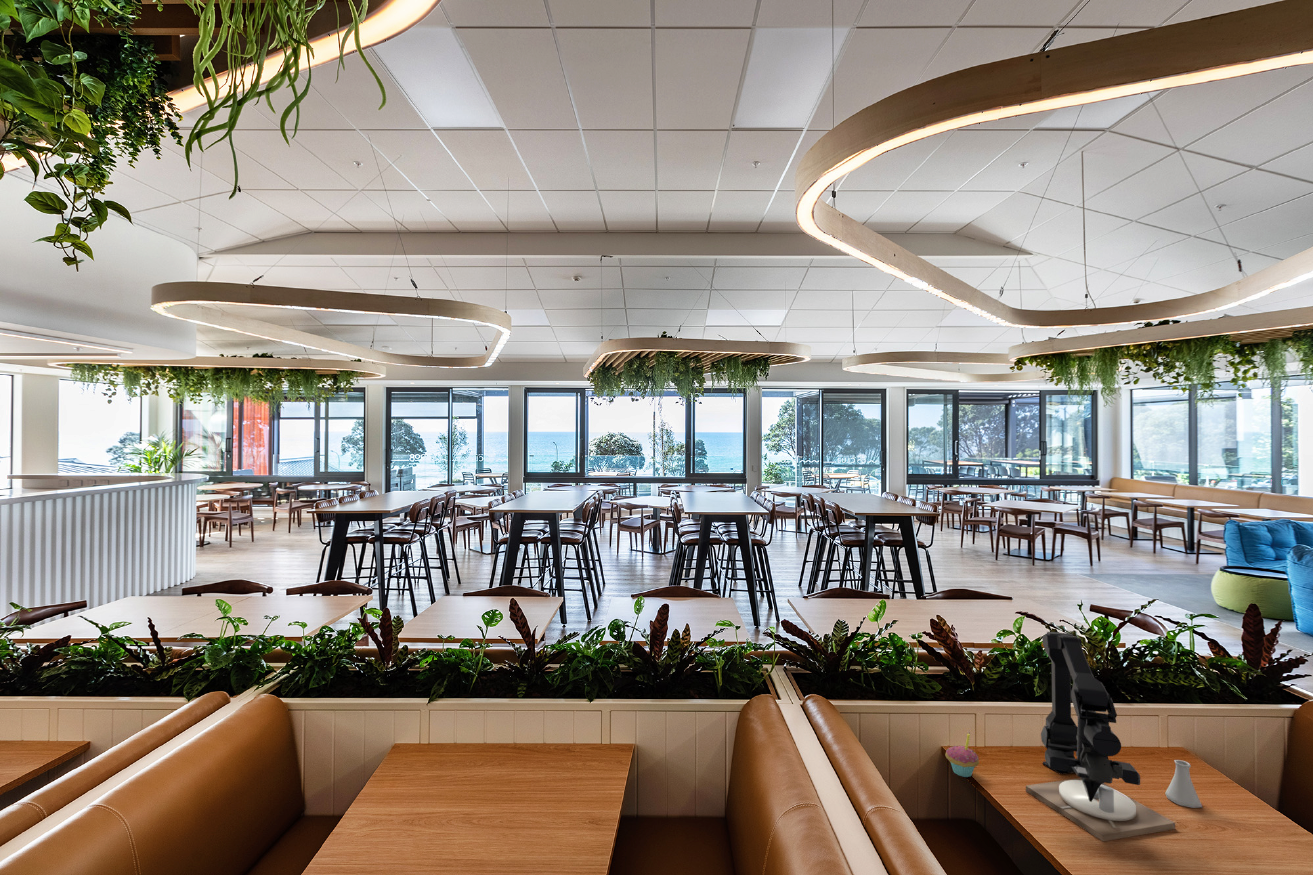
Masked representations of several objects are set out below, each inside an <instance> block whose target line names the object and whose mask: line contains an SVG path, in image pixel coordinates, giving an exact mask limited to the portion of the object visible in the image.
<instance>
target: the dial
mask: <svg viewBox="0 0 1313 875" xmlns="http://www.w3.org/2000/svg"><path fill="white" fill-rule="evenodd" d="M1067 780H1068V781H1064V782H1062V783H1061V784H1060V785H1059V795H1060V797H1061V798H1062V799H1063V800H1064V801H1065V802H1066V803H1067V804H1068V805H1070V806H1071V807H1073V808H1075V809H1077V810H1079V811H1081V812H1083V813H1086V814H1088V815H1091V816H1094V817H1098V818H1102V819H1106V820H1113V821H1127V820H1131V819H1133V818H1135V816H1136V805H1135V803H1134V802H1133V801H1132V800H1131V799H1132V798H1131V797H1130V796H1128V797H1127V795H1126V794H1124V793H1122V792H1121V791H1118V790H1117V789H1115V788H1113V787H1112V788H1113V789H1112V788H1110V787H1111V786H1110V787H1107V786H1104V785H1100V787H1099V788H1098V790H1097V792H1096V794H1095V796H1094V798H1093V800H1092V802H1090V801H1089V799H1088V796H1087V793H1086V790H1085V787H1084V784H1083V782H1082V780H1069V779H1067ZM1129 797H1130V798H1131V799H1130V798H1129Z"/></svg>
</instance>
